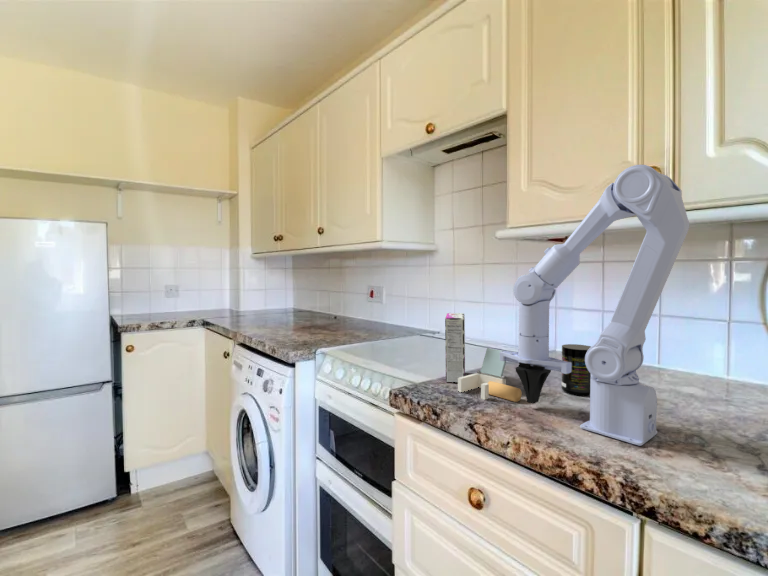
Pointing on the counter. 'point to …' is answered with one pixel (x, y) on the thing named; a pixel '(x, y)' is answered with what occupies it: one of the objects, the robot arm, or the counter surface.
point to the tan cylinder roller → (504, 391)
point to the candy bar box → (455, 346)
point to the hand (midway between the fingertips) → (532, 401)
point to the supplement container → (576, 370)
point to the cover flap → (493, 363)
